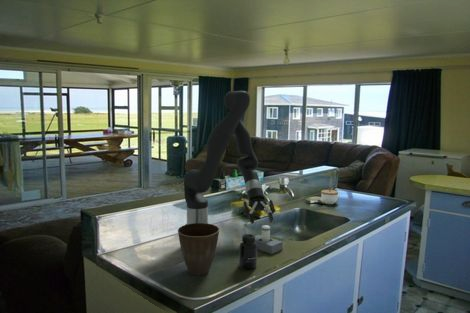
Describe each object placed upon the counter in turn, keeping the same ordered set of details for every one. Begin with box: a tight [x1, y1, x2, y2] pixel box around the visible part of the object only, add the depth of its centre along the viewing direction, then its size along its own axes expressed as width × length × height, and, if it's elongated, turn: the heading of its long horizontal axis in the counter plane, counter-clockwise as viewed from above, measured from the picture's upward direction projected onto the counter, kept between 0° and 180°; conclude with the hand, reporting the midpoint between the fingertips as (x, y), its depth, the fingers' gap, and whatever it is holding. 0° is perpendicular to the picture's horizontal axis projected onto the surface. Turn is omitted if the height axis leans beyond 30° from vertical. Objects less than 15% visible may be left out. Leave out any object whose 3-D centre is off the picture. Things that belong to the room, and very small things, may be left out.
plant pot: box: [177, 223, 220, 276], centre depth 132 cm, size 15×15×16 cm
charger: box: [261, 224, 271, 243], centre depth 156 cm, size 4×4×10 cm
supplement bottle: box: [238, 233, 258, 271], centre depth 137 cm, size 7×7×12 cm
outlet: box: [254, 234, 283, 255], centre depth 156 cm, size 7×13×4 cm, turn 46°
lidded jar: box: [320, 188, 339, 205], centre depth 235 cm, size 11×11×9 cm
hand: (262, 222), depth 159 cm, fingers open, 8 cm apart
